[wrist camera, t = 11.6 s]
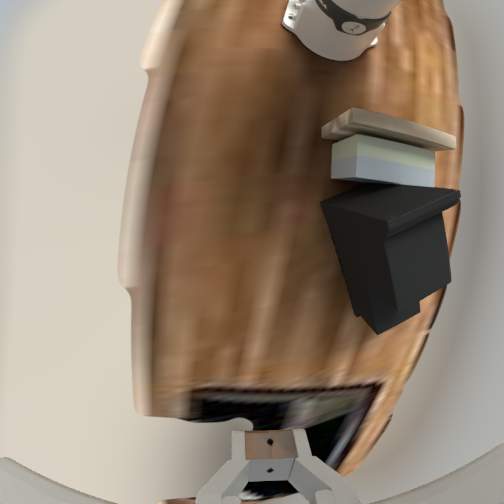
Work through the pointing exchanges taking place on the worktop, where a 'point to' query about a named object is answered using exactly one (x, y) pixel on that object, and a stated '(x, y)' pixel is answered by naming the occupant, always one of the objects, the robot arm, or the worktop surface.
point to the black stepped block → (390, 247)
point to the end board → (386, 130)
